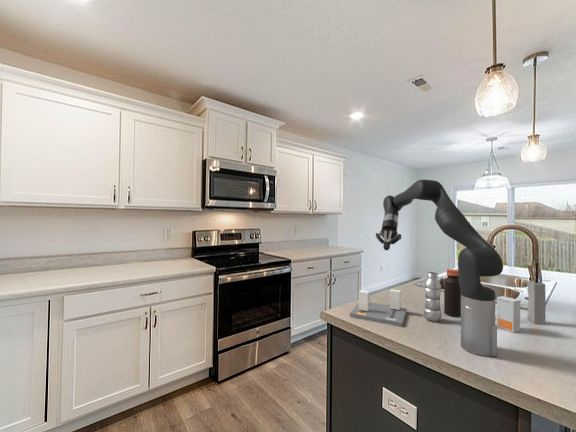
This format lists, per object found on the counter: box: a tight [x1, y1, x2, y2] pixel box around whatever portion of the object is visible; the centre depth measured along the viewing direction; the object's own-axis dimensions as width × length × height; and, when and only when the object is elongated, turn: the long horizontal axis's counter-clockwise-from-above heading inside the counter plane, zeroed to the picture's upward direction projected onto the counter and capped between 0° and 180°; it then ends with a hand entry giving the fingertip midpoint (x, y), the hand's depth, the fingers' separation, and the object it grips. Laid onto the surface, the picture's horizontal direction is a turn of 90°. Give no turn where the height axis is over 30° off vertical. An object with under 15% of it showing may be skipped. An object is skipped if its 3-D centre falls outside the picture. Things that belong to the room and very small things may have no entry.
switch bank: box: [349, 301, 408, 328], centre depth 117 cm, size 21×20×2 cm
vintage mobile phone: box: [526, 262, 546, 326], centre depth 110 cm, size 4×5×25 cm
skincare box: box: [496, 295, 521, 334], centre depth 103 cm, size 6×4×12 cm
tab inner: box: [389, 288, 401, 310], centre depth 120 cm, size 4×3×8 cm
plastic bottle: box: [423, 271, 443, 322], centre depth 111 cm, size 6×7×20 cm
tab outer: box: [358, 290, 370, 311], centre depth 118 cm, size 4×3×8 cm
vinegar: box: [443, 268, 461, 318], centre depth 118 cm, size 7×7×20 cm
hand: (386, 249), depth 129 cm, fingers closed
